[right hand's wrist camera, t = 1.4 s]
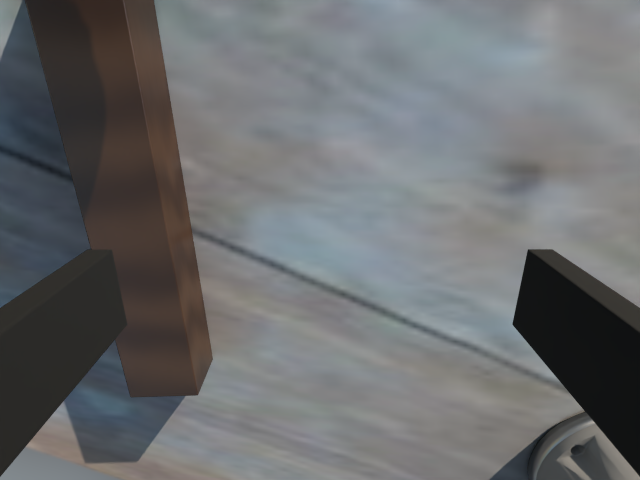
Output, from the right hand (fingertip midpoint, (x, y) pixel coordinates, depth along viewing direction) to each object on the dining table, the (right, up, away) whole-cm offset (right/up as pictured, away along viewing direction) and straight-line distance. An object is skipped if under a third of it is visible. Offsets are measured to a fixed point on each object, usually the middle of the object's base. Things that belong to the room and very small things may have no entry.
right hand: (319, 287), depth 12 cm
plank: (-14, +6, +20) cm, 25 cm away
